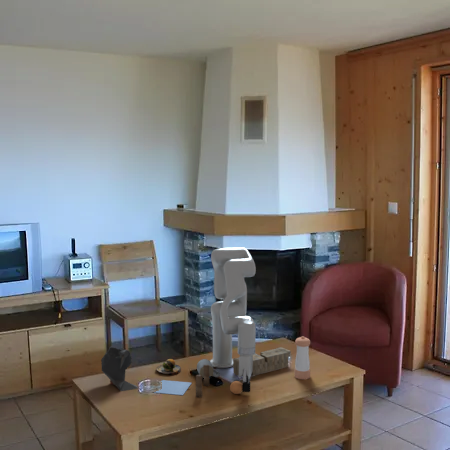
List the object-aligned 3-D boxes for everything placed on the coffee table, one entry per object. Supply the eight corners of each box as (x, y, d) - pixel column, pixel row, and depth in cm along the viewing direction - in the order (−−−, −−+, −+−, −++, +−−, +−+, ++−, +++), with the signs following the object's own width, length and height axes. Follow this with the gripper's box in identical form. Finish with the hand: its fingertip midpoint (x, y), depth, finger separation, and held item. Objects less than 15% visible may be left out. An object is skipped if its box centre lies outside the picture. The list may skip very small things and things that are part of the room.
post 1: (196, 394, 240) (196, 374, 239) (202, 395, 240) (202, 374, 239) (195, 397, 238) (195, 376, 237) (201, 397, 237) (201, 377, 236)
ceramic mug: (199, 380, 256) (199, 365, 255) (196, 374, 264) (196, 359, 263) (221, 379, 258) (221, 363, 258) (217, 373, 266) (217, 358, 265)
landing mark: (162, 380, 256) (162, 380, 256) (191, 383, 253) (191, 382, 253) (151, 392, 243) (151, 392, 243) (182, 395, 240) (182, 394, 240)
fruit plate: (154, 368, 272) (153, 353, 271) (177, 366, 276) (177, 351, 275) (159, 377, 261) (158, 362, 260) (183, 374, 264) (183, 359, 264)
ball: (232, 391, 245) (230, 379, 244) (245, 390, 243) (242, 378, 243) (230, 396, 240) (227, 384, 239) (242, 395, 238) (240, 383, 238)
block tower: (242, 381, 259) (291, 366, 275) (242, 363, 258) (291, 350, 274) (233, 375, 265) (281, 361, 281) (232, 358, 264) (281, 345, 280)
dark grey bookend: (129, 376, 261) (128, 338, 259) (138, 388, 247) (138, 348, 246) (98, 381, 255) (97, 343, 253) (106, 393, 241) (105, 353, 239)
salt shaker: (305, 372, 266) (305, 333, 264) (313, 378, 259) (313, 337, 257) (291, 374, 263) (292, 335, 261) (299, 380, 257) (299, 339, 254)
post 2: (204, 383, 253) (204, 364, 252) (209, 384, 252) (209, 364, 251) (202, 385, 250) (202, 366, 249) (208, 386, 250) (208, 366, 249)
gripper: (240, 343, 247) (240, 384, 249) (234, 355, 232) (234, 397, 234) (257, 344, 245) (257, 385, 247) (252, 356, 231) (252, 399, 233)
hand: (246, 391), depth 241 cm, fingers closed
